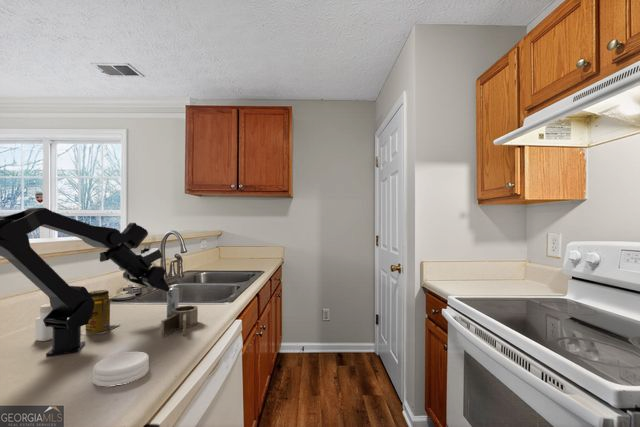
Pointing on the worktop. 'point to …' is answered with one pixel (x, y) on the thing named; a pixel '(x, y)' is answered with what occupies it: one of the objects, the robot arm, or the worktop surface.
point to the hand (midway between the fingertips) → (161, 288)
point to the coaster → (121, 368)
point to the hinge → (180, 319)
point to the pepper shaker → (41, 330)
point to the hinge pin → (172, 300)
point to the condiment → (99, 314)
